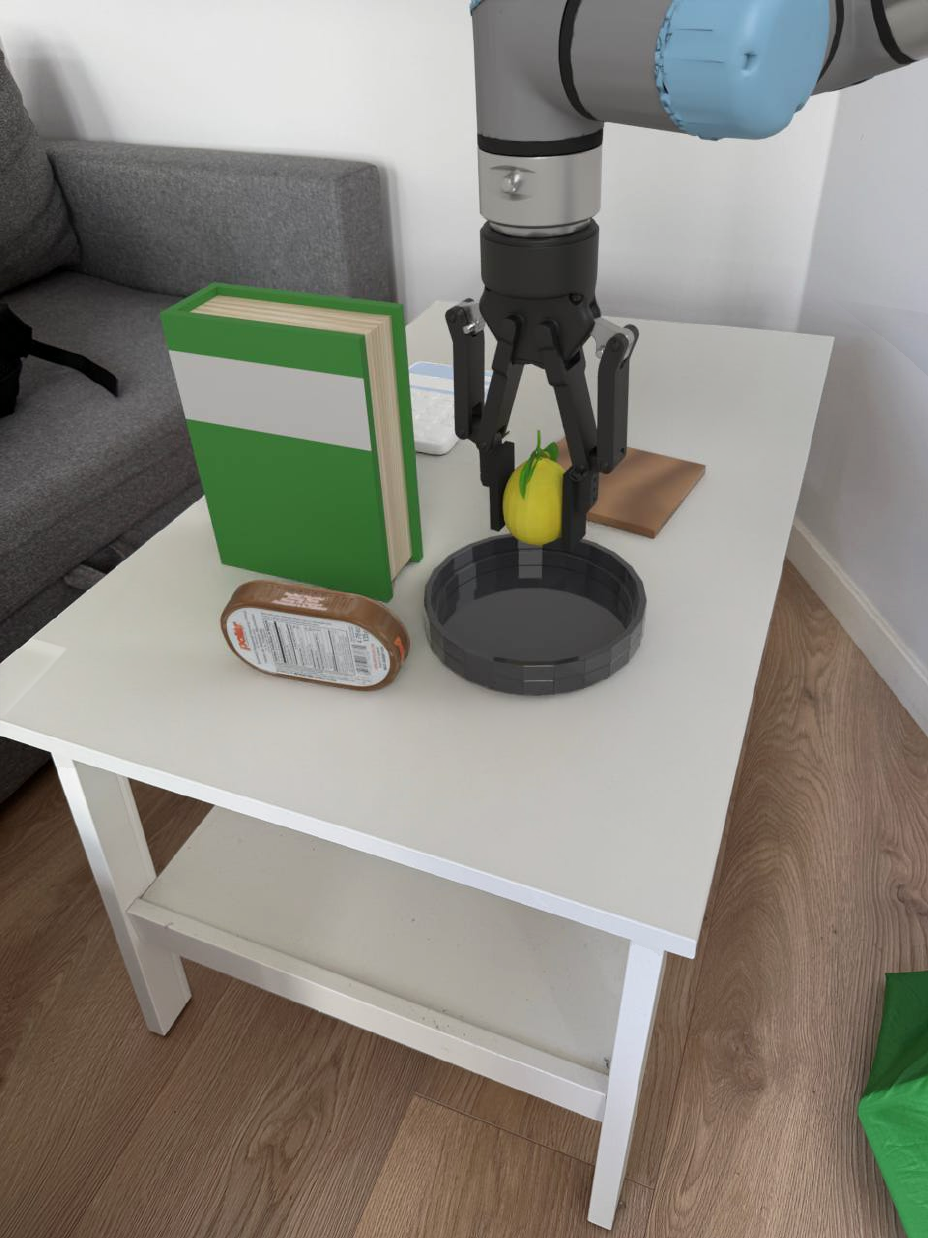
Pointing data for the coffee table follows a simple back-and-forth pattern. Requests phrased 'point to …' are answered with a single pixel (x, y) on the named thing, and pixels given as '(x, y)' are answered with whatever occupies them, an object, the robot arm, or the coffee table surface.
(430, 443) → the calculator
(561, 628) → the pan
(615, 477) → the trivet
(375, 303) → the hardback book
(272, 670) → the tin
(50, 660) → the coffee table surface
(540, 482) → the lemon
